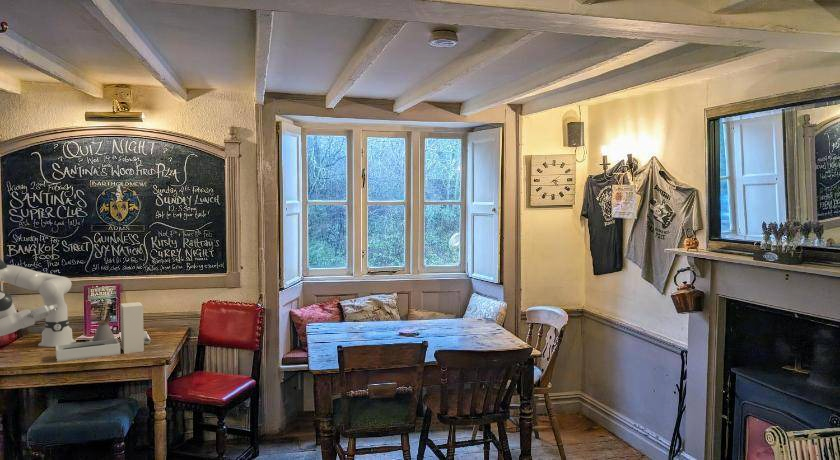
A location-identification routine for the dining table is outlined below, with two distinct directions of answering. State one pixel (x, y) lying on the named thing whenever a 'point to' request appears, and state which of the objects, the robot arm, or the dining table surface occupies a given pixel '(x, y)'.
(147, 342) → the ceramic mug
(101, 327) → the coffee pot
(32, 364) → the dining table surface
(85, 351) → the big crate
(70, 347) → the teal rectangular bar
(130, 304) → the tall white pillar
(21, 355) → the dining table surface
